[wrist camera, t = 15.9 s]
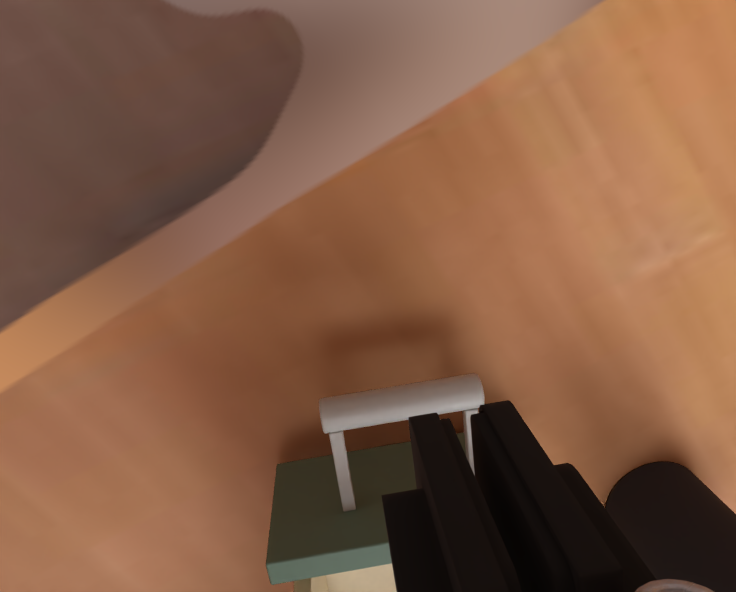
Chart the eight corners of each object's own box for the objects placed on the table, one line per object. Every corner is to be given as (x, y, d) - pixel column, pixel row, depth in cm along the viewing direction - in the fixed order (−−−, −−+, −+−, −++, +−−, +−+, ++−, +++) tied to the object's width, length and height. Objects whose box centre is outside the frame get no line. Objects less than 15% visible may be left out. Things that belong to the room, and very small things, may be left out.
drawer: (254, 367, 27) (235, 448, 20) (516, 325, 27) (577, 391, 21) (330, 698, 35) (333, 830, 28) (530, 660, 35) (577, 781, 29)
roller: (604, 548, 34) (699, 693, 26) (605, 470, 32) (710, 599, 24) (695, 531, 34) (819, 670, 26) (702, 453, 32) (839, 575, 24)
